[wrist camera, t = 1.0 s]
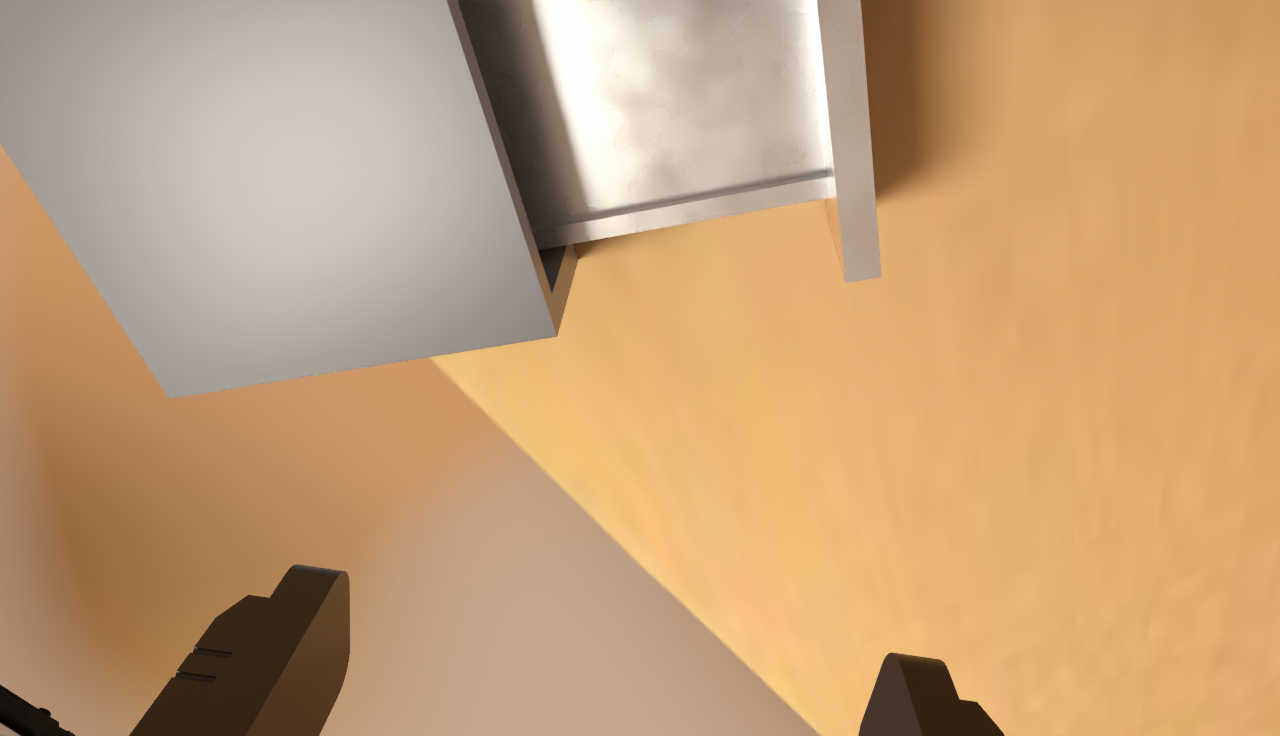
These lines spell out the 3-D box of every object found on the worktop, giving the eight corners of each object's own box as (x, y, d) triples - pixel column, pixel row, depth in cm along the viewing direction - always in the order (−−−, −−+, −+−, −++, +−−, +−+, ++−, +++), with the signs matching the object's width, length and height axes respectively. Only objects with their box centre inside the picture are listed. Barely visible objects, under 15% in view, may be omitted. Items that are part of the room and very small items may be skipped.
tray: (317, -151, 27) (246, -140, 23) (815, -291, 24) (837, -309, 20) (479, 283, 35) (449, 346, 31) (859, 216, 33) (881, 277, 29)
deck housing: (20, -66, 29) (-119, -38, 24) (446, -186, 26) (386, -182, 22) (239, 320, 38) (169, 398, 33) (578, 260, 35) (557, 336, 30)
